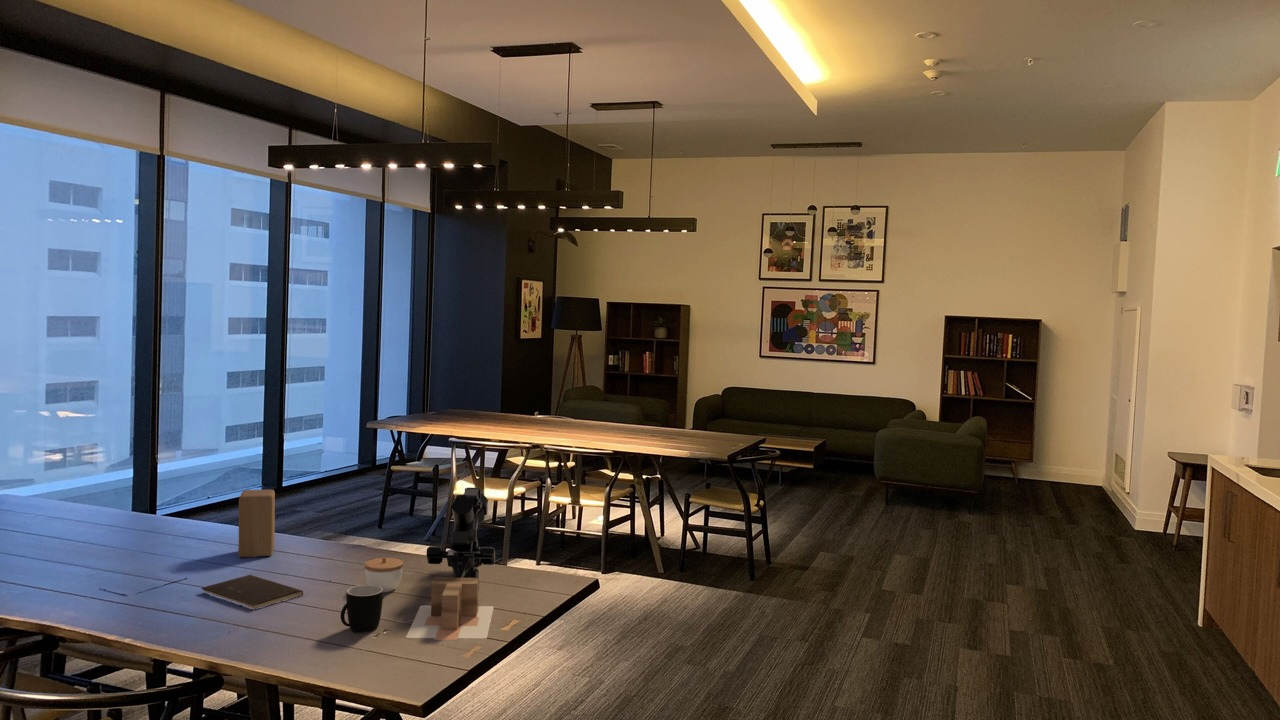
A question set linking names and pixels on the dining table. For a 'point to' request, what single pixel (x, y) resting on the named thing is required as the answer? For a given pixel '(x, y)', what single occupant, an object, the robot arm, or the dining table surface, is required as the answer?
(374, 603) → the mug
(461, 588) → the t block
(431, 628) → the mat
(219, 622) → the dining table surface
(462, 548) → the robot arm
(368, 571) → the lidded jar
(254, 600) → the hardcover book
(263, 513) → the block
